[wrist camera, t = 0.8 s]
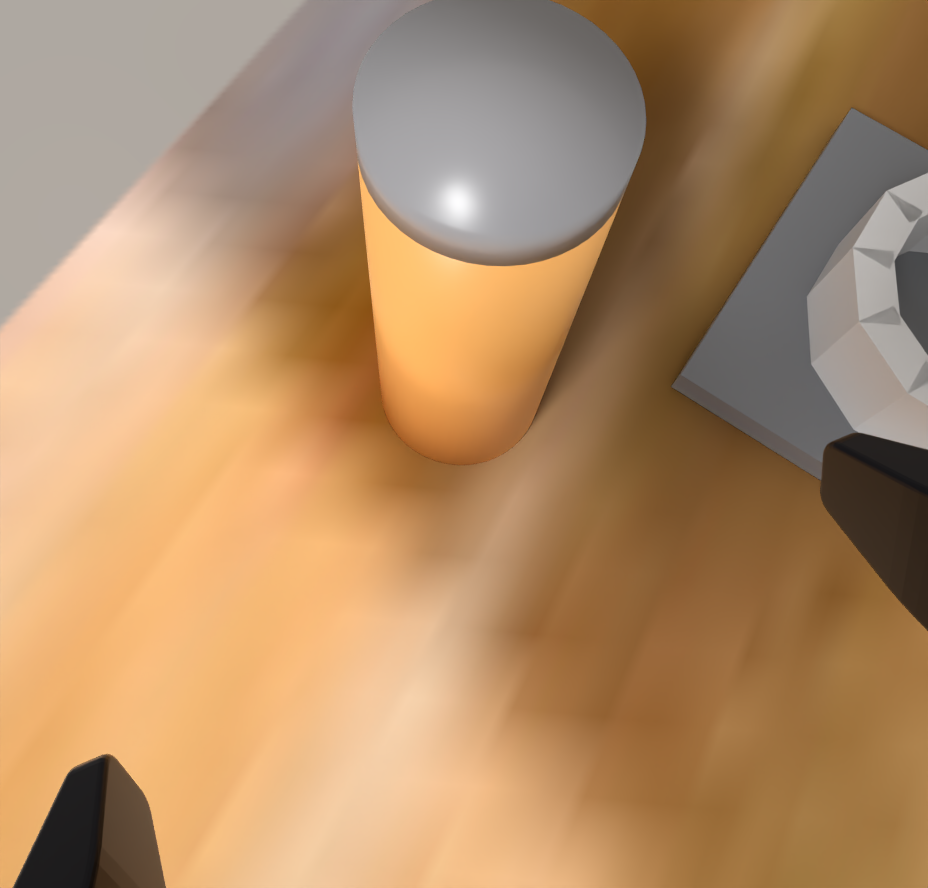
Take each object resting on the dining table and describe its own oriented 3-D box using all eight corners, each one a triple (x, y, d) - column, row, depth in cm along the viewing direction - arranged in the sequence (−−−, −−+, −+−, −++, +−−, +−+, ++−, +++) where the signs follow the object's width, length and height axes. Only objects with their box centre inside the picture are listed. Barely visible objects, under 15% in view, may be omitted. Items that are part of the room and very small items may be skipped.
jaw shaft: (567, 372, 27) (697, 81, 15) (482, 496, 26) (546, 289, 13) (440, 290, 28) (461, -54, 15) (349, 407, 26) (291, 131, 14)
